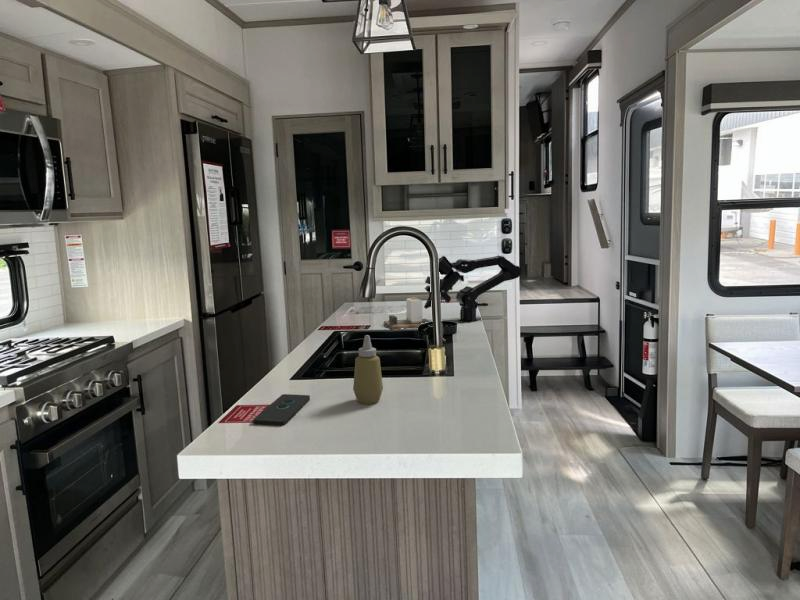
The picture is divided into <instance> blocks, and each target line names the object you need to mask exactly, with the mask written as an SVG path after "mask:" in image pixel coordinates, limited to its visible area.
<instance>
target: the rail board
mask: <svg viewBox="0 0 800 600" xmlns="http://www.w3.org/2000/svg"><path fill="white" fill-rule="evenodd" d="M422 321H423V323H425V322H430V321H429V319H427V318H422ZM385 324H386V325H385ZM420 324H421V323H411V321H410V320H406V319H398V316H396V315H393V314H390V315H388V320H384V321H383V325H385V326H387V327H388V326H389V327H388V328H389V329H391V328H392V329H391V330H393V329H397V330H402V329H401V328H410V329H418V328H417V327H418V326H419V325H420Z"/></svg>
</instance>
